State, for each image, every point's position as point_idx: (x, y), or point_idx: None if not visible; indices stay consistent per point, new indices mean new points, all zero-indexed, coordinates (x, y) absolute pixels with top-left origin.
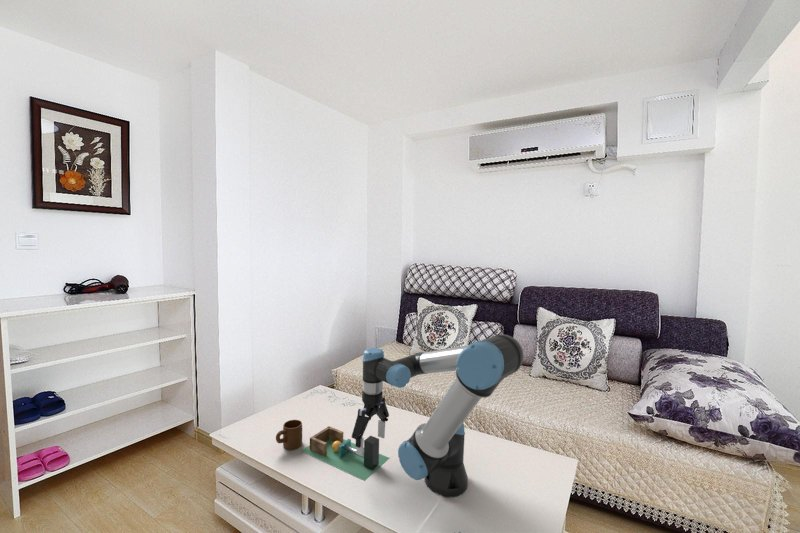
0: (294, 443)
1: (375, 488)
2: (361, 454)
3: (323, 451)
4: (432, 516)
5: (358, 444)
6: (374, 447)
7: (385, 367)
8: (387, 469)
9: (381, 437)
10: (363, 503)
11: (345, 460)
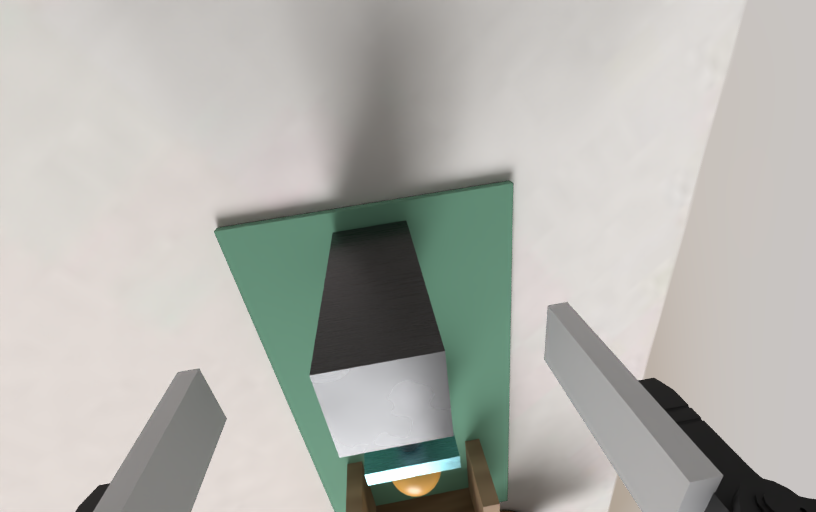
0: None
1: (518, 78)
2: (574, 315)
3: (486, 465)
4: None
5: (697, 416)
6: (403, 316)
7: None
8: (309, 159)
9: (209, 389)
10: (677, 35)
11: None
